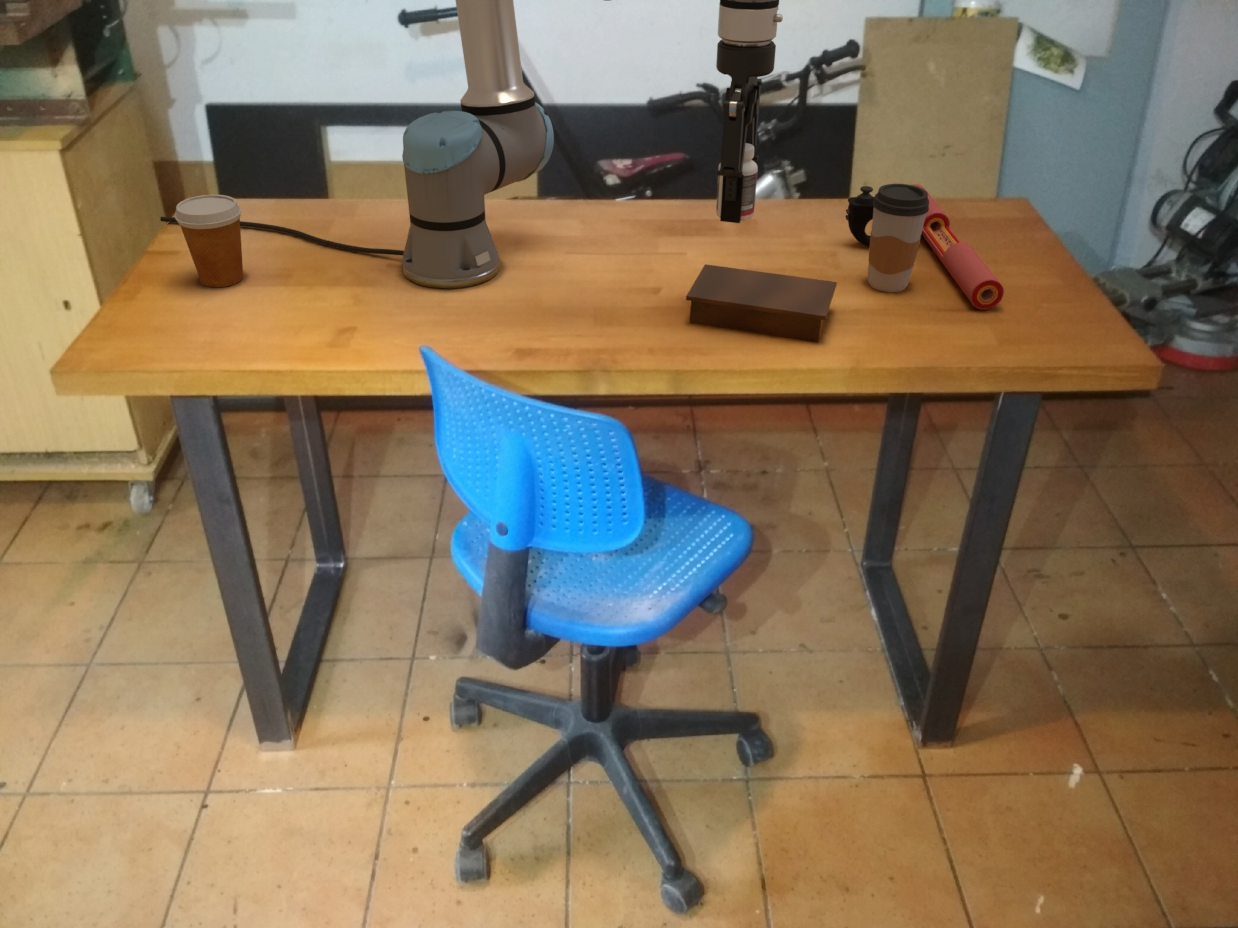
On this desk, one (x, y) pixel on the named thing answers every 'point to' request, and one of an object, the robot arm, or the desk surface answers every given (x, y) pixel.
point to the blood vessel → (961, 259)
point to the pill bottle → (748, 185)
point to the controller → (860, 214)
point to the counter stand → (760, 302)
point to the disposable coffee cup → (213, 237)
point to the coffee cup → (895, 235)
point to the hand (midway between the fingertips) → (735, 213)
